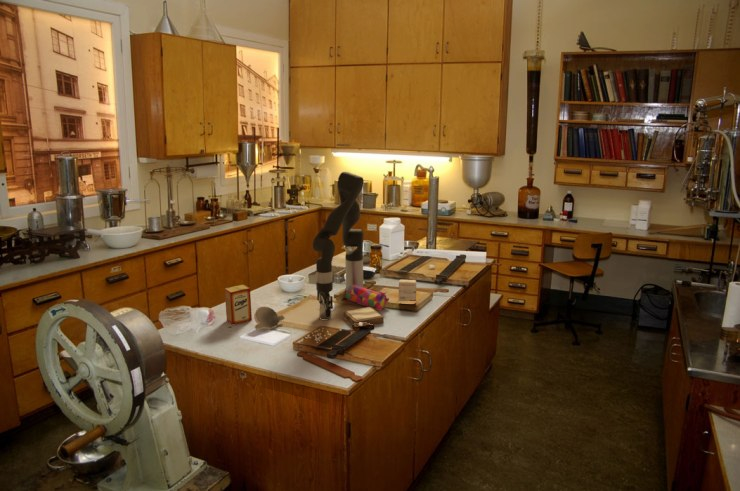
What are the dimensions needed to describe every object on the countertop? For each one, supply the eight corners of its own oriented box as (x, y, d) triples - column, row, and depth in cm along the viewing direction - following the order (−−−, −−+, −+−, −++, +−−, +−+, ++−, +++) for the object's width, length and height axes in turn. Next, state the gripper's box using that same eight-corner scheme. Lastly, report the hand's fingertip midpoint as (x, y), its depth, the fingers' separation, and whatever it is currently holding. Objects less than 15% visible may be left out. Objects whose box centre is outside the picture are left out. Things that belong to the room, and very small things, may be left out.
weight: (318, 316, 264) (317, 300, 262) (328, 315, 266) (327, 298, 264) (322, 320, 259) (321, 304, 257) (332, 318, 261) (331, 302, 259)
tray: (343, 317, 263) (343, 310, 262) (370, 312, 269) (370, 306, 268) (355, 328, 251) (355, 321, 250) (383, 322, 257) (383, 316, 256)
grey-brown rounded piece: (261, 333, 244) (251, 309, 245) (252, 337, 250) (242, 314, 251) (287, 322, 255) (278, 300, 256) (278, 327, 260) (269, 305, 262)
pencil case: (390, 307, 276) (390, 290, 274) (378, 313, 269) (378, 295, 266) (355, 298, 289) (355, 281, 286) (343, 303, 282) (343, 286, 279)
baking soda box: (232, 325, 254) (230, 291, 250) (226, 320, 260) (224, 287, 255) (251, 320, 260) (249, 287, 256) (245, 316, 265) (243, 283, 261)
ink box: (416, 301, 283) (416, 279, 280) (415, 305, 278) (416, 282, 275) (398, 301, 284) (399, 278, 281) (398, 304, 279) (398, 282, 276)
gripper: (337, 283, 253) (338, 317, 257) (326, 274, 266) (327, 307, 270) (322, 285, 250) (322, 320, 254) (311, 276, 263) (312, 309, 267)
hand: (325, 313), depth 262 cm, fingers open, 8 cm apart
